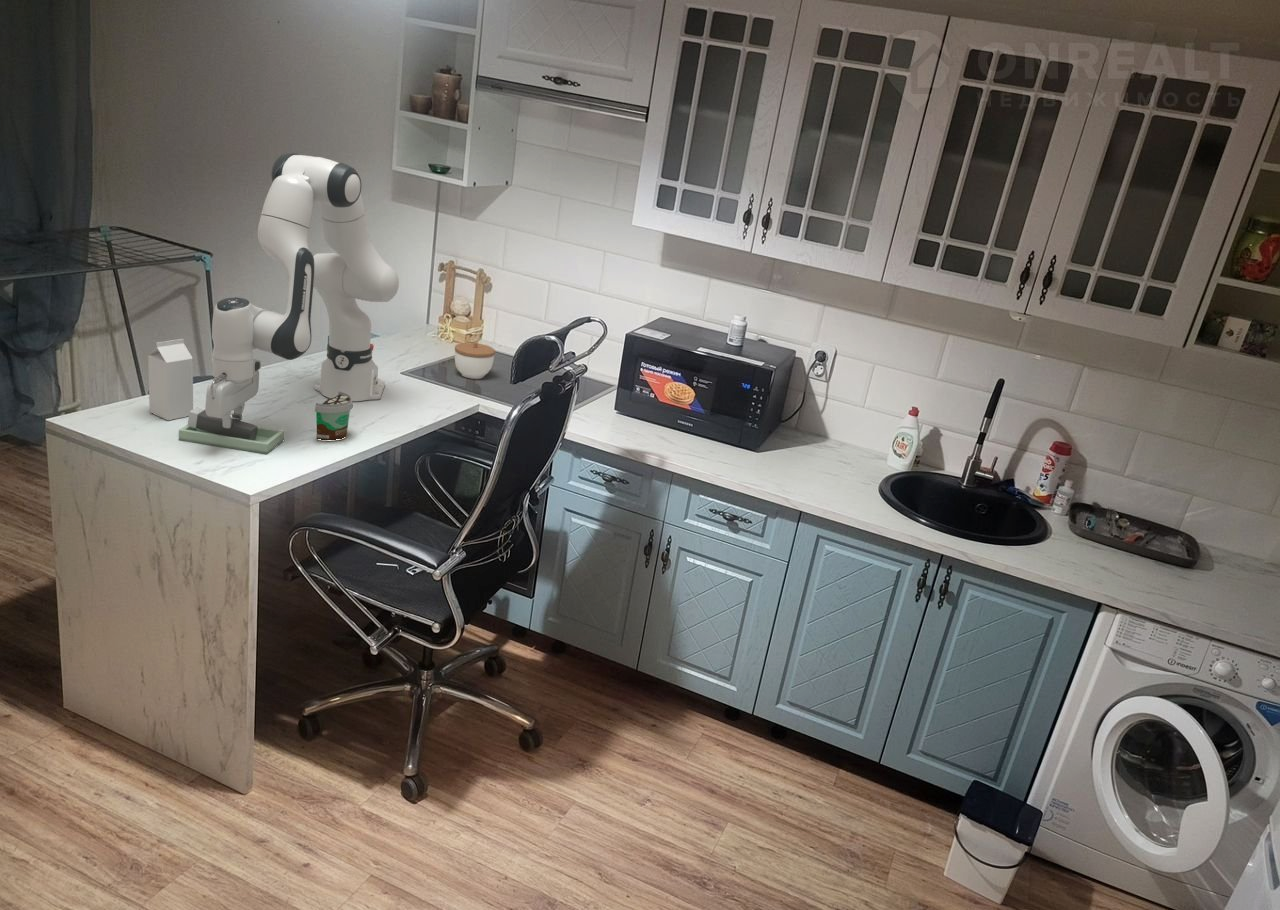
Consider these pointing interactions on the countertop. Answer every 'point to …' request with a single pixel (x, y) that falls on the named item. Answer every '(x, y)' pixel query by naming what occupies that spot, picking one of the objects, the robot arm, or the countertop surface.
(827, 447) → the countertop surface
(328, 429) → the food container
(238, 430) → the dark grey bar
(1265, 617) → the countertop surface
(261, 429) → the tray
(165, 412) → the milk carton
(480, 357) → the lidded bowl
